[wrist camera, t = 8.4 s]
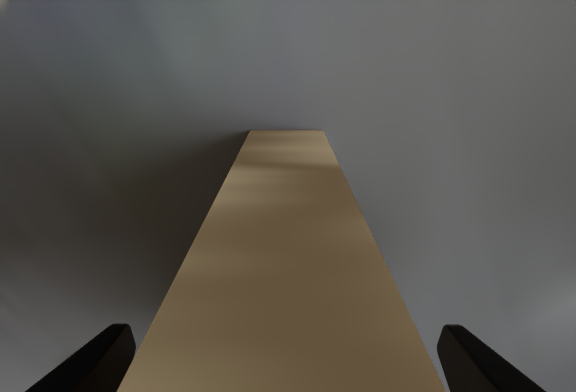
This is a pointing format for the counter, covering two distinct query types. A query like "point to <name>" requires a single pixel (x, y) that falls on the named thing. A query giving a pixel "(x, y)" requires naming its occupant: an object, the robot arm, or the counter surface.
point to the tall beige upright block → (283, 288)
